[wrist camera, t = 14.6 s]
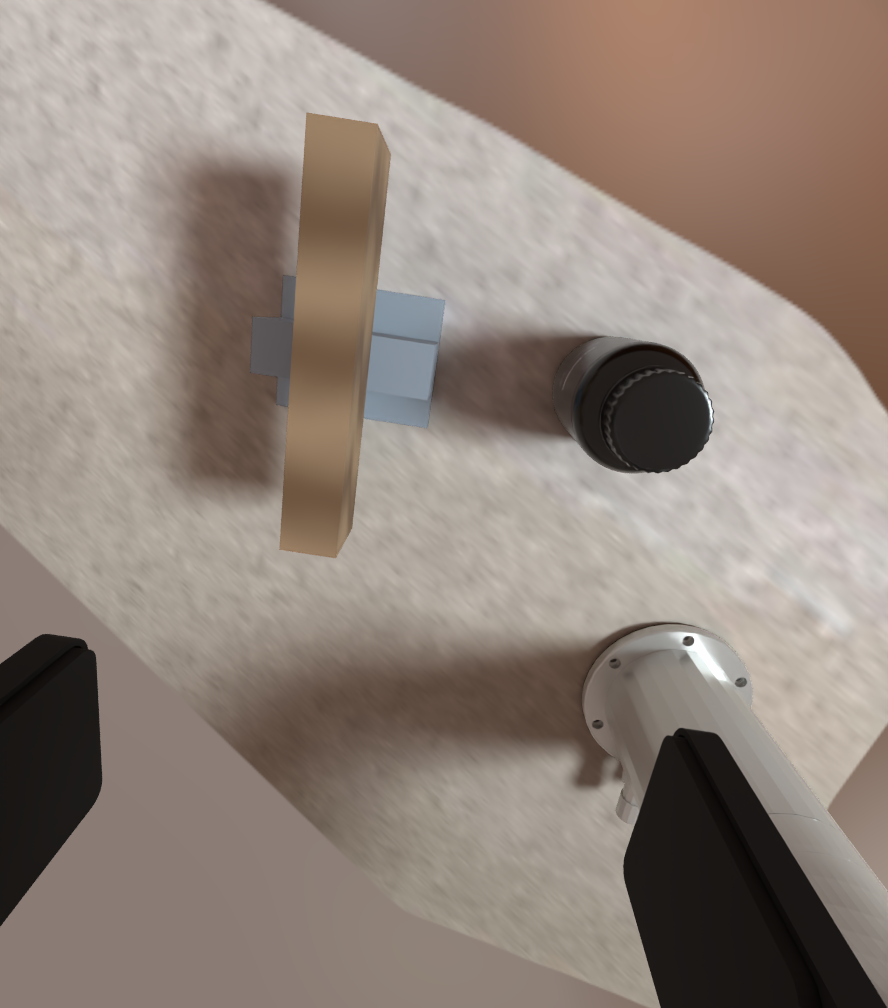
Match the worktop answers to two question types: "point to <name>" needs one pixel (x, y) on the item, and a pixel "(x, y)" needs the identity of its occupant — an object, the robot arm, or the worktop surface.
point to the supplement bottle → (633, 404)
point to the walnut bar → (332, 328)
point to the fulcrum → (393, 356)
